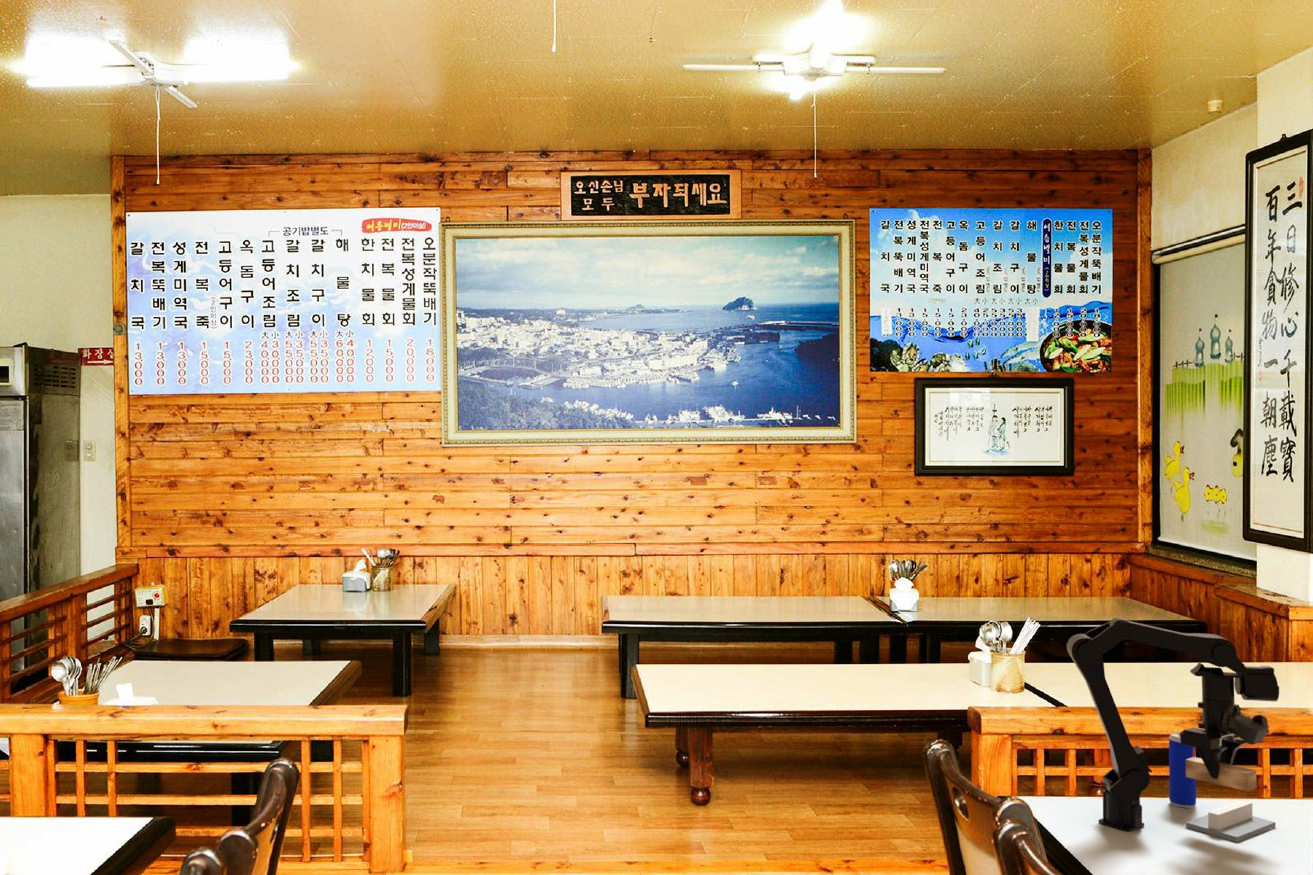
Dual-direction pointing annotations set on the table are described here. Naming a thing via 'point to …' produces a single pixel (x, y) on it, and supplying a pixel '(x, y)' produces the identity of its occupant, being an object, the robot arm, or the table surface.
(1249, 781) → the oak bar
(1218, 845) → the table surface
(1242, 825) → the stand
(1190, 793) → the beverage can
